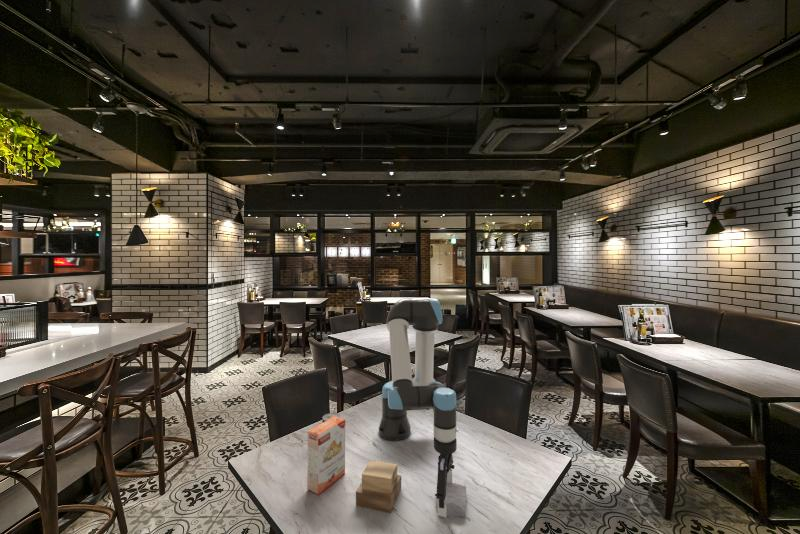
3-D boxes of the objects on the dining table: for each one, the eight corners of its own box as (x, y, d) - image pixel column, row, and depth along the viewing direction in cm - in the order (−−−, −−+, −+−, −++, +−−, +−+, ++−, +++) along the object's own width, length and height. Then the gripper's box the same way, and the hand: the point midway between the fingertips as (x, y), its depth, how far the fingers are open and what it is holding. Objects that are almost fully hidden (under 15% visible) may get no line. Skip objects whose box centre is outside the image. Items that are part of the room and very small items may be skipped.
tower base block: (369, 483, 119) (369, 469, 119) (401, 489, 115) (401, 475, 115) (355, 506, 107) (355, 491, 107) (390, 514, 104) (390, 499, 104)
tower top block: (370, 474, 116) (370, 460, 116) (397, 478, 113) (397, 464, 113) (361, 489, 108) (361, 474, 108) (390, 494, 106) (390, 478, 106)
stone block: (436, 520, 103) (468, 518, 101) (433, 505, 103) (465, 502, 101) (439, 495, 115) (468, 493, 113) (436, 481, 115) (465, 479, 113)
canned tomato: (343, 437, 150) (342, 413, 150) (336, 446, 142) (336, 421, 142) (326, 435, 151) (326, 412, 151) (319, 445, 143) (319, 420, 143)
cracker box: (319, 496, 112) (318, 435, 111) (306, 489, 115) (306, 430, 115) (346, 473, 123) (345, 418, 123) (334, 468, 127) (334, 415, 126)
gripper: (451, 460, 95) (451, 532, 95) (460, 421, 119) (461, 479, 119) (426, 456, 98) (426, 527, 98) (440, 418, 121) (440, 475, 121)
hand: (445, 501), depth 108 cm, fingers open, 13 cm apart
